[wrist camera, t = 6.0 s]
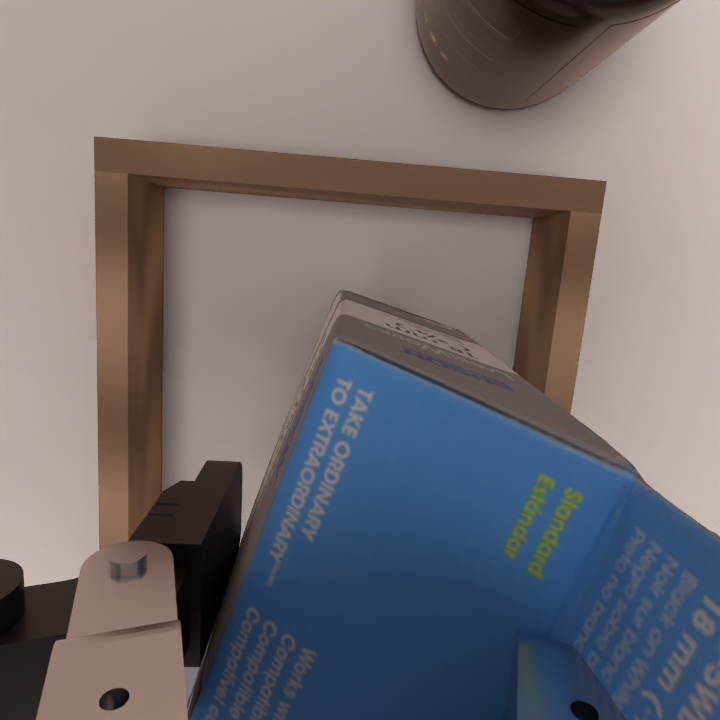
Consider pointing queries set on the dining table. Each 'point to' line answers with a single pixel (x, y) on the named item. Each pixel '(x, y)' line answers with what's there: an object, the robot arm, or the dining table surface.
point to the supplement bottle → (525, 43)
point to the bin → (316, 182)
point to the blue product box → (450, 546)
